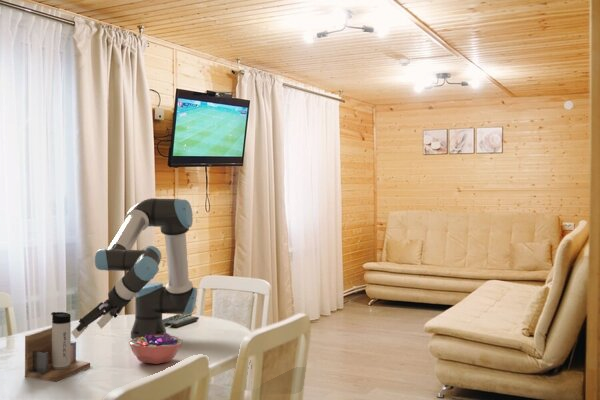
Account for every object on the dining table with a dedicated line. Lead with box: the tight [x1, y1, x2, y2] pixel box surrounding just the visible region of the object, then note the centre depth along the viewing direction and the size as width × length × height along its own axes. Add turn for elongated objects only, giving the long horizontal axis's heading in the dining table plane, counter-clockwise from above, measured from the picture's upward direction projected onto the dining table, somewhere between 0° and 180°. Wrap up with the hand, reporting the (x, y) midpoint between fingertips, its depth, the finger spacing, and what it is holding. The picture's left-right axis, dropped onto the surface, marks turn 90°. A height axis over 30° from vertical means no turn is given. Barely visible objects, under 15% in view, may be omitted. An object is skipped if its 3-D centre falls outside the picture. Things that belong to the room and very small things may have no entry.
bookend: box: [28, 350, 48, 375], centre depth 216 cm, size 6×3×7 cm, turn 71°
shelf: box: [24, 326, 91, 383], centre depth 222 cm, size 14×18×14 cm
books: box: [70, 340, 77, 363], centre depth 230 cm, size 6×4×7 cm, turn 71°
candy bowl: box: [128, 332, 183, 365], centre depth 236 cm, size 17×20×11 cm
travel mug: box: [50, 311, 72, 370], centre depth 222 cm, size 6×7×20 cm
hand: (87, 330), depth 217 cm, fingers open, 13 cm apart
